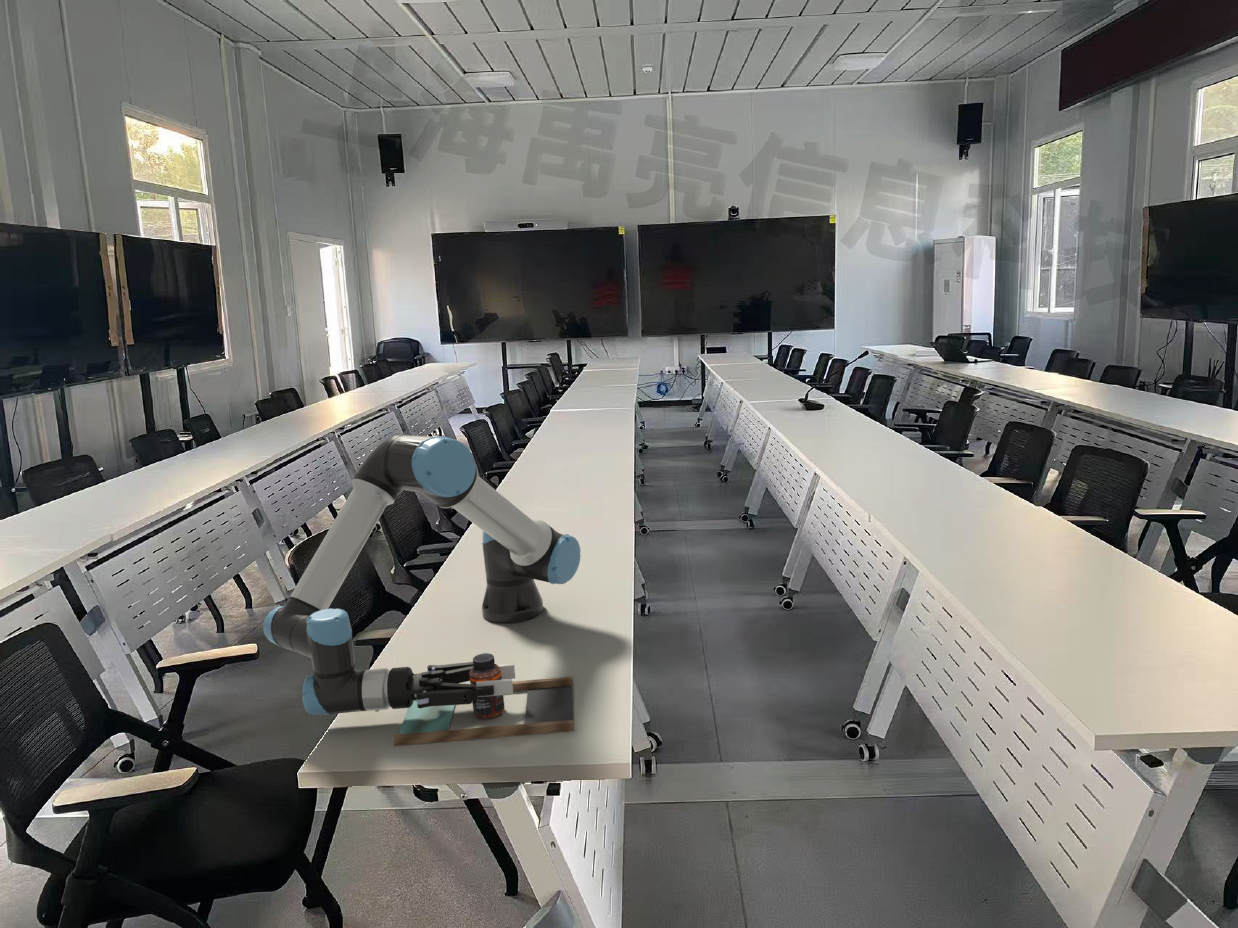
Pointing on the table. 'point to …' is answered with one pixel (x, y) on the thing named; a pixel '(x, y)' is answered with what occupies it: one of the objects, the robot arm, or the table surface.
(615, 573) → the table surface
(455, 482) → the robot arm
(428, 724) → the channel track
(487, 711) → the supplement bottle
